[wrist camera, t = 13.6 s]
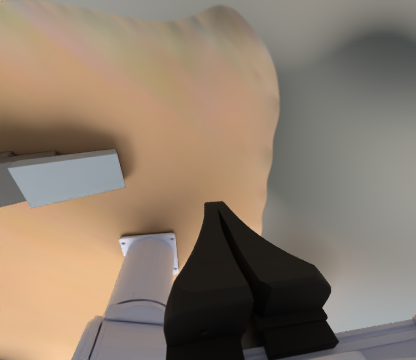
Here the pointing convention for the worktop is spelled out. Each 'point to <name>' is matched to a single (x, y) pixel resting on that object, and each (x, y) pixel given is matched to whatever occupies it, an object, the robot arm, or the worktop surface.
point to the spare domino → (67, 176)
